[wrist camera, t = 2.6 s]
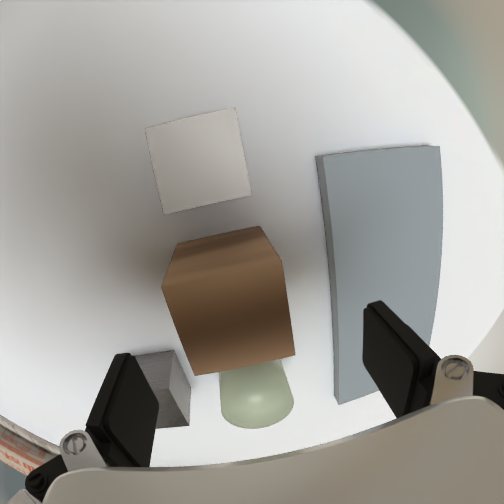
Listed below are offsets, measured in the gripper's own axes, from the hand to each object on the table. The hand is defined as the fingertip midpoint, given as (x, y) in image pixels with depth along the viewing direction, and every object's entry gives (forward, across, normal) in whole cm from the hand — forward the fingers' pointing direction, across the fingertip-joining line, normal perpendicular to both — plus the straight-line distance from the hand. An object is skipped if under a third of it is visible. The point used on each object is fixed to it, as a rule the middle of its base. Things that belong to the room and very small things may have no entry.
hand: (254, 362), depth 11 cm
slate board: (+8, -10, +3) cm, 14 cm away
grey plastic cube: (+8, +1, -8) cm, 11 cm away
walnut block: (+8, +1, -1) cm, 8 cm away
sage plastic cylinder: (+8, +1, +6) cm, 10 cm away
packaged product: (+8, +32, +19) cm, 38 cm away
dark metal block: (+8, +8, +6) cm, 13 cm away
